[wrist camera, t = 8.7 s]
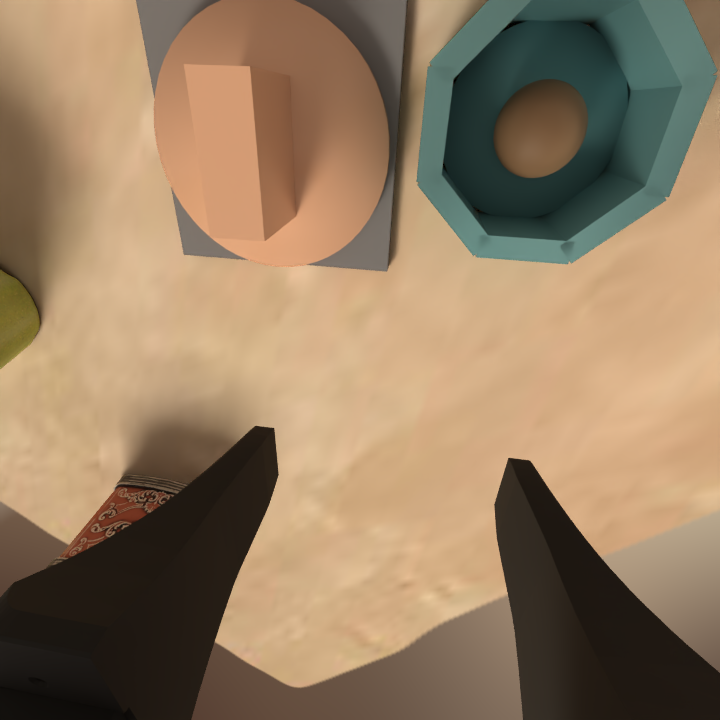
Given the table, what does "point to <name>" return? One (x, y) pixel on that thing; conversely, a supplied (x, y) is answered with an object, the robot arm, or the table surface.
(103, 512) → the lighter
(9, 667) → the robot arm
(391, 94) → the mat
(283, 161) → the lid
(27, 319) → the plant pot
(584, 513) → the table surface
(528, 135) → the ball
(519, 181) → the bowl
